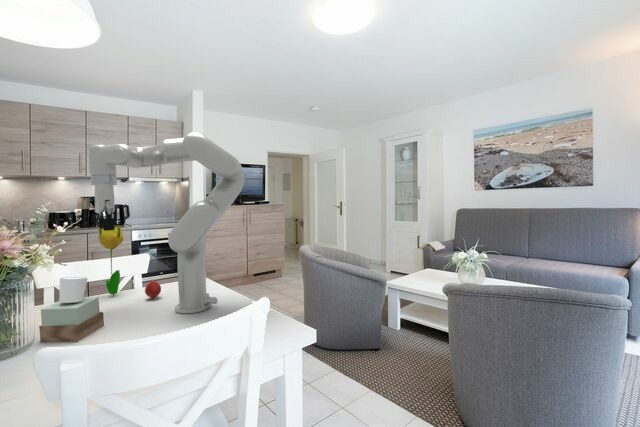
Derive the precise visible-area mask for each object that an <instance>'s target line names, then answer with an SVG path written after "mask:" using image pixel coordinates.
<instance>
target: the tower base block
mask: <svg viewBox="0 0 640 427" xmlns="http://www.w3.org/2000/svg"><path fill="white" fill-rule="evenodd" d="M104 326H105V319H104V311H100V312H99V313H97V314H96V315H94V316H92V317H91V318H89V319H87V320H85V321H84V322H82V323H80V324H79V325H63V326H42V324H41V325H39V326H38V327H39V329H38V330H39V338H40V340H39V342H40V343H69V342H70V343H74V342H75V343H77V342H80V341H82V340H83V339H85V338H86V337H88V336H90V335H91V334H93V333H94V332H96V330H97V331H99V330H100V329H101V327H102V328H103V327H104ZM99 328H100V329H99Z"/></svg>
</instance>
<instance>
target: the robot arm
mask: <svg viewBox="0 0 640 427" xmlns="http://www.w3.org/2000/svg"><path fill="white" fill-rule="evenodd" d="M88 153H89V154H88V156H89V169H90V185H91V186H94V212H95V213H96V214H99V217H98V224H99V227H100V229H103V230H104V231H109V230H115V226H116V225H115V218H114V212H115V211H116V210H115V207H116V206H115V189H114V186H117V185H118V180H117V179H118V178H117V166H119V167H120V166H121V167H127V168H132V169H137V168H149V167H156V166H161V165H168V164H172V163H173V164H175V163H183V162H193V161H195V162H197V163H199V164H200V165H201V166H203V167H205V168H207V169H208V170H209V171H211V172H212V173H213V174H215V175H217V176H218V177H220V180H219V182H218V183H217V184H216V185H215V186H214V187H213V188H212V190H211V191H210V193H208V195H207V196H206V197H205V198H204V199H203V200H200V201H197V202H195V203H193V204H192V205H191V206H190V207H189V208H188V210H187V211H186V212H185V213H184V214H183V216H181V218H180V220H179V221H178V222H177V223H176V224H175V226H174V227H173V228H172V230H171V231H170V233H169V234H168V238H167V242H168V245H169V247H170V249H171V250H172V251H173V252H175V253H177V279H178V280H177V284H178V285H177V286H178V302H179V303H177V304H176V305H175V306H174V311H175V312H176V313H178V314H185V315H186V314H188V315H189V314H195V313H196V314H197V313H199V312H201V313H202V312H205V311H206V310H208V309H209V308H211V307H212V305H217V304H218V298H217V297H216V296H210V293H209V292H208V293H207V276H206V274H207V273H206V243H207V242H206V239H207V236H206V234H208V232H209V231H210V230H211V229H212V227H213V226H215V225H216V224H218V223H219V221H220V220H222V219H221V218H222V217H223V216H224V214H225V213H226V212H227V211H228V209H229V208H230V207H231V206H232V205H233V203H234V202H235V200H236V199H237V198H238V196H239V195H240V193H241V191H242V190H243V188H244V184H245V174H244V170H243V169H244V168H243V167H242V165H241V163H240V161H239V160H238V158H236V156H233V155H232V154H230V152H228V151H226V150H225V149H223V148H222V147H221V146H220V145H218V144H216V143H214V142H213V141H212V140H211V139H209V138H208V137H207V136H206V135H204V134H203V133H202V132H201V133H200V132H197V131H195V132H192V131H191V132H190V133H188V134H186V135H185V136H184V137H174V138H165V139H162V140H161V141H160V143H158V144H156V145H151V146H142V147H140V146H139V147H135V146H132V145H128V144H125V143H116V144H109V145H107V144H106V145H105V144H94V145H91V146H89V148H88ZM99 227H98V228H99Z"/></svg>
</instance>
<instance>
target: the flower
mask: <svg viewBox="0 0 640 427" xmlns="http://www.w3.org/2000/svg"><path fill="white" fill-rule="evenodd" d="M98 233H99V236H98V238H99V243H100V245H101V246H102V247H103V248H105V249H107V250H110V252H109V253H110V269H111V270H110V272H111V275H110V278H109V279H107V280H105V286H106V289H107V291H108V293H109V295H112V296H113V297H114V296H115V295H116V294H118V292H119V285H120V280H121V273H120V269H119V270H118V269H117V270H115V271H114V272H113V264H112V263H113V259H112V257H113V255H112V254H113V252H112V251H113V250H114V249H116V248H118V247H119V245H121V243H122V242H124V235H123V234H124V233H123V232H122V228H121V225H117V226H116V225H115V230H109V231H104V230H103V229H100V227H98Z"/></svg>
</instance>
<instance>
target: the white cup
mask: <svg viewBox="0 0 640 427" xmlns="http://www.w3.org/2000/svg"><path fill="white" fill-rule="evenodd" d="M87 283H88V277H81V276H79V277H78V276H74V277H73V276H70V277H69V276H67V277H61V278H59V296H58V297H59V298H58V302H61V303H73V302H81V301H82V300H83V298H84V296H85V291H86V289H87V288H86V287H87Z"/></svg>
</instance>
